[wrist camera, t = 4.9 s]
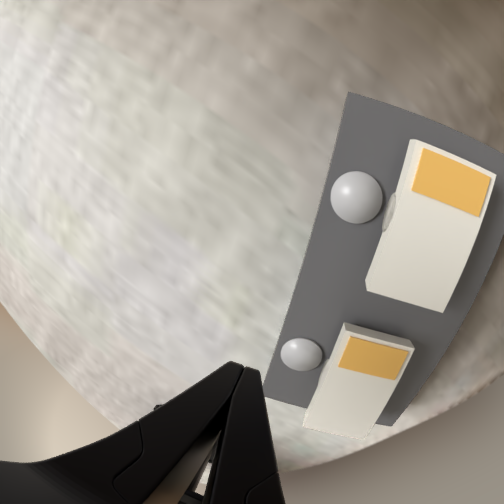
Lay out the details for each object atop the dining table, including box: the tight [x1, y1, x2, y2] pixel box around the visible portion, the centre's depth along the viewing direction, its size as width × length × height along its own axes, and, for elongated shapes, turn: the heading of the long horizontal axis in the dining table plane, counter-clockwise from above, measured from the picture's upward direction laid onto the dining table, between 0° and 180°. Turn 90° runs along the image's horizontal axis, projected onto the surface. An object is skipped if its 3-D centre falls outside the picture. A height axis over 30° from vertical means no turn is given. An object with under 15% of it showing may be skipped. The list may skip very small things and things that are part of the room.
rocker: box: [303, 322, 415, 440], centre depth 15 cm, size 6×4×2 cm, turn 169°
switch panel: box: [263, 92, 504, 426], centre depth 16 cm, size 20×9×3 cm, turn 168°
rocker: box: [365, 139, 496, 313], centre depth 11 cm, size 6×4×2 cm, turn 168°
